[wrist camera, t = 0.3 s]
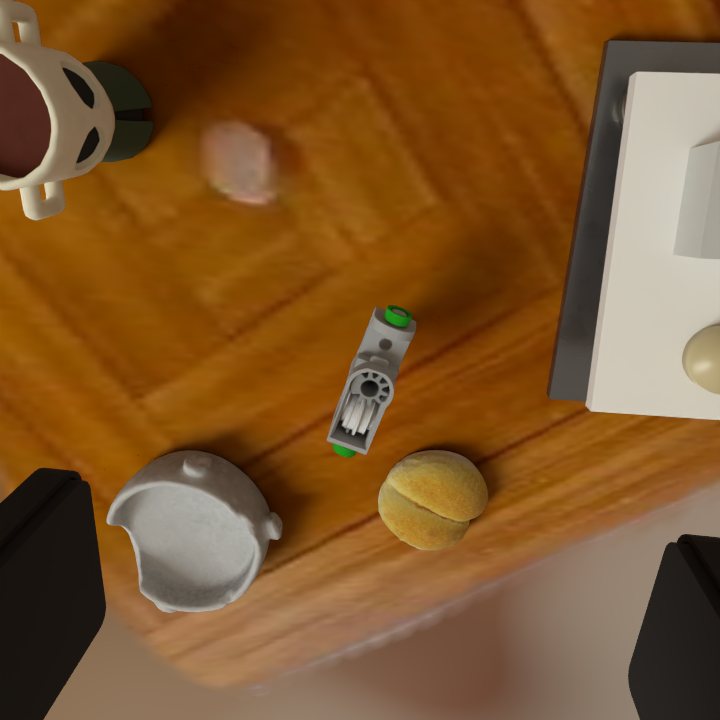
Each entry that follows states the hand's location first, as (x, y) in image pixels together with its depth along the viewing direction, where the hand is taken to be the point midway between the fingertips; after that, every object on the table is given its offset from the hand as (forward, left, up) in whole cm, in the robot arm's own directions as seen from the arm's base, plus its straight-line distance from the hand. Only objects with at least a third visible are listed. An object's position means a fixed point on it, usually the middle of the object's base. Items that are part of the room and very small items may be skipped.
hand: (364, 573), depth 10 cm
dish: (+27, -17, -36) cm, 48 cm away
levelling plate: (+1, +19, -31) cm, 36 cm away
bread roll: (+23, +3, -36) cm, 43 cm away
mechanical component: (+9, -2, -36) cm, 37 cm away
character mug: (-6, -21, -36) cm, 42 cm away
